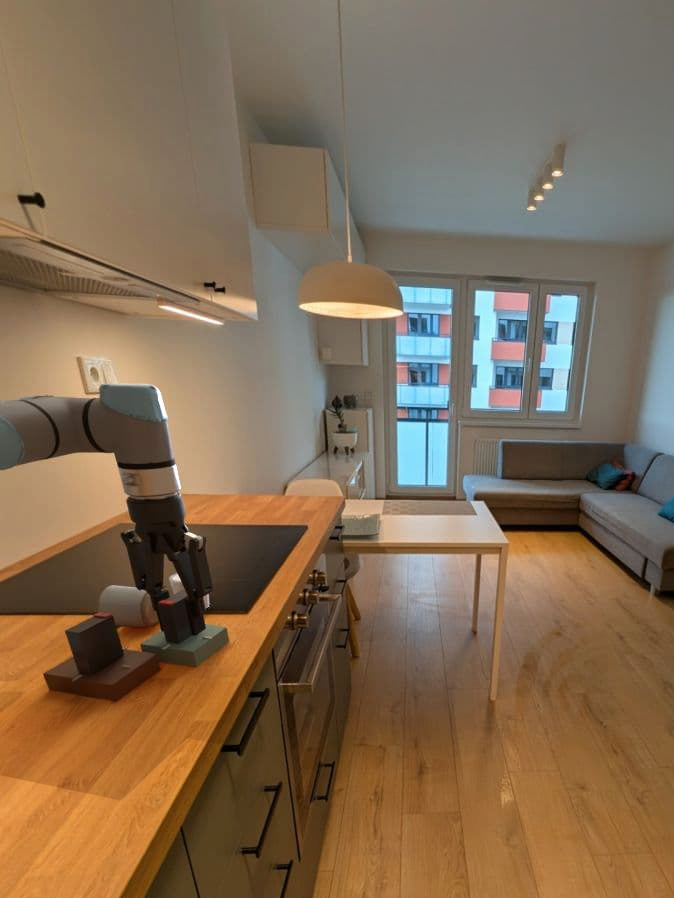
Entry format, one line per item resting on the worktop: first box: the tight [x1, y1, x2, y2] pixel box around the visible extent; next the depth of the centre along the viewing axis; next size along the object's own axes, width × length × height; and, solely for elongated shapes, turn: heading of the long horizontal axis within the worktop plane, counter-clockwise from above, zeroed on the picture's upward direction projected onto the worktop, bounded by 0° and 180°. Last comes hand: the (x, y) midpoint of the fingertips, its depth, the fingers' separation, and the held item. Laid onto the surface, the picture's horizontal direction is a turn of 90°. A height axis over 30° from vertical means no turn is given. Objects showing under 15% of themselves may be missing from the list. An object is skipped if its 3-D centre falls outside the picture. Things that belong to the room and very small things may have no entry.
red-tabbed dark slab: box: [64, 611, 124, 674], centre depth 77 cm, size 6×2×7 cm, turn 167°
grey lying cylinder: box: [97, 584, 159, 628], centre depth 96 cm, size 11×8×8 cm
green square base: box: [139, 623, 230, 668], centre depth 87 cm, size 10×10×3 cm
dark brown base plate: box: [42, 645, 162, 702], centre depth 79 cm, size 12×10×3 cm
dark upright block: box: [157, 590, 192, 644], centre depth 85 cm, size 6×2×7 cm, turn 168°
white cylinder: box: [168, 572, 211, 610], centre depth 102 cm, size 7×7×7 cm
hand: (183, 629), depth 86 cm, fingers open, 5 cm apart
